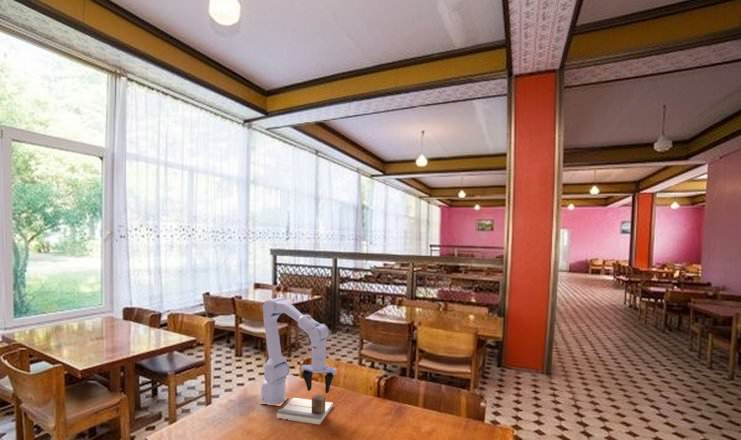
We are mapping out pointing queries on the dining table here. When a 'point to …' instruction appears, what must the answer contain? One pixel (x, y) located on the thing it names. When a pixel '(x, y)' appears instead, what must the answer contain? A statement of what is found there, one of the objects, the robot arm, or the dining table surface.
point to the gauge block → (318, 404)
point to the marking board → (303, 411)
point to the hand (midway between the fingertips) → (318, 391)
